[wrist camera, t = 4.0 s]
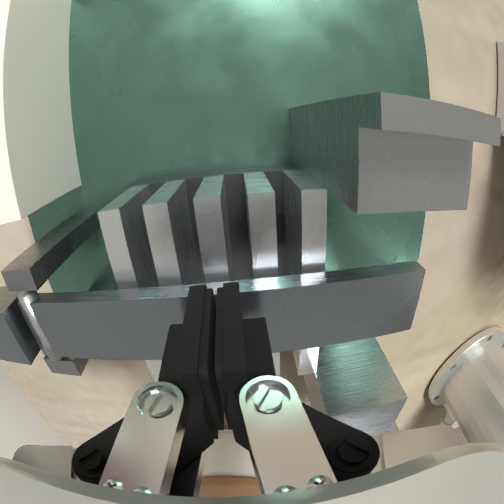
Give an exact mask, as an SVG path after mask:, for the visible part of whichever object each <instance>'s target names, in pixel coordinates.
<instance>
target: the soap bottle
mask: <svg viewBox="0 0 504 504" xmlns="http://www.w3.org/2000/svg"><path fill="white" fill-rule="evenodd" d="M497 51H498V99H497V114H496V117H499V118H501V135H502V136H503V137H504V40H498V41H497Z"/></svg>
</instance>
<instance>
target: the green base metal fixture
mask: <svg viewBox="0 0 504 504" xmlns="http://www.w3.org/2000/svg"><path fill="white" fill-rule="evenodd" d="M69 84H70V101H71V113H72V123H73V132H74V140H75V148H76V154H77V161H78V167H79V173H80V178H81V184H82V185H81V186H79V187H77V188H75V189H73V190H71V191H69V192H67V193H66V194H64V195H62V196H60V197H58V198H57V199H55V200H53V201H51V202H50V203H48V204H46V205H44V206H43V207H41V208H39V209H38V210H36V211H34V212H33V213H31V214H29V215H28V217H29V221H30V225H31V228H32V232H33V235H34V238H35V243H34V244H33V245H31V246H30V247H29V248H28V249H27V250H25V251H24V252H23V253H22V254H21V255H19V256H18V257H17V258H16V259H15V260H13V261H12V262H11V263H10V264H9V265H8V266H7V267H5V268H4V269H3V270H2V271H1V273H2V276H3V278H4V281H5V283H6V285H7V288H8V290H9V291H35V290H38V289H39V288H40V287H41V286H42V285H43V284H44V283H45V282H46V281H47V279H48V280H49V282H50V285H51V287H52V290H53V292H54V293H60V292H81V291H100V290H117V289H133V288H148V287H162V286H176V285H189V284H201V283H213V282H225V281H236V280H247V279H258V278H268V277H279V276H289V275H298V274H308V273H317V272H326V271H335V270H344V269H352V268H361V267H369V266H377V265H385V264H393V263H401V262H409V261H417V262H418V257H419V252H420V246H421V240H422V233H423V226H424V219H425V211H441V210H467V204H468V196H469V187H470V178H471V166H472V148H473V141H475V142H480V143H485V144H490V145H495V146H499V147H500V139H501V118H499V117H496V116H493V115H489V114H486V113H483V112H479V111H476V110H472V109H468V108H465V107H461V106H457V105H452V104H448V103H444V102H439V101H434V100H430V92H429V78H428V66H427V57H426V49H425V42H424V35H423V29H422V23H421V17H420V12H419V7H418V3H417V0H72V1H71V12H70V28H69ZM292 352H293V356H294V360H295V364H296V368H297V372H298V376H299V375H303V377H304V381H305V385H306V389H307V393H308V397H309V401H310V405H311V407H312V408H314V409H316V410H318V411H320V412H322V413H324V414H326V415H328V416H330V417H332V418H334V419H336V420H338V421H341V422H343V423H345V424H347V425H349V426H352V427H354V428H356V429H358V430H361V431H363V432H365V433H367V434H368V435H370V436H377V435H381V433H382V432H391V431H399V430H398V427H397V425H396V423H395V420H396V419H397V417H398V415H399V413H400V411H401V409H402V407H403V405H404V403H405V401H406V400H407V396H406V394H405V392H404V390H403V388H402V386H401V384H400V382H399V381H398V379H397V377H396V375H395V373H394V371H393V369H392V367H391V366H390V364H389V362H388V360H387V358H386V356H385V355H384V353H383V351H382V349H381V347H380V346H379V344H378V342H377V340H376V339H375V337H372V338H367V339H362V340H357V341H351V342H346V343H340V344H334V345H328V346H322V347H315V348H308V349H301V350H294V351H292ZM272 357H273V362H274V368H275V373H276V376H278V377H280V352H277V353H272ZM88 359H89V358H74V357H63V358H62V359H61V360H59V361H51V360H50V359H49V357H48V356H47V355H45V357H44V360H45V362H46V363H47V365H48V367H49V368H50V370H51V371H52V372H53V373H60V374H68V375H77V376H81V375H82V373H83V370H84V368H85V366H86V364H87V362H88ZM145 362H146V365H147V367H148V369H149V371H150V374H151V376H152V378H153V380H154V382H158V378H159V373H160V368H161V363H162V360H145Z"/></svg>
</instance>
